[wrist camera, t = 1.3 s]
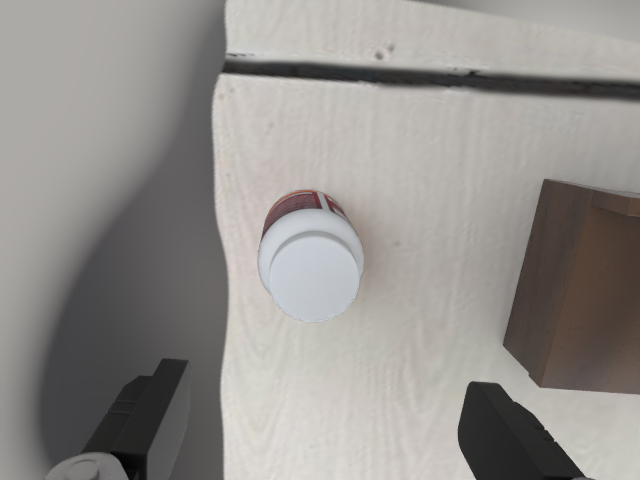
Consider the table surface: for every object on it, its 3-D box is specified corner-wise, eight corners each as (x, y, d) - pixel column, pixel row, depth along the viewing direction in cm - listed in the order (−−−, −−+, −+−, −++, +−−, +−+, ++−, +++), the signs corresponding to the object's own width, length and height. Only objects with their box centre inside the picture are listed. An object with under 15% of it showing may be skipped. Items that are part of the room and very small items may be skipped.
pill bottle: (256, 257, 33) (238, 322, 22) (275, 179, 31) (266, 206, 20) (334, 276, 33) (354, 347, 23) (357, 200, 32) (389, 238, 21)
